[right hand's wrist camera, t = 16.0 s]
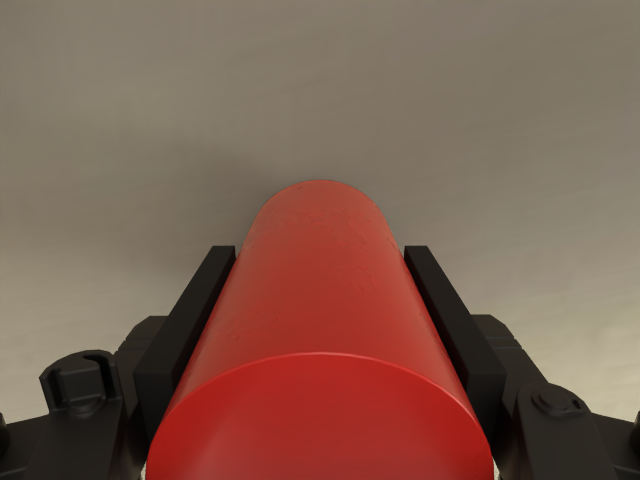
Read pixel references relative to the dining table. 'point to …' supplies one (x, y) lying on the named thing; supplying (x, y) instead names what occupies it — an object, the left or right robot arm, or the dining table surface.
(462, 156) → the dining table surface
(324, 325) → the tin
